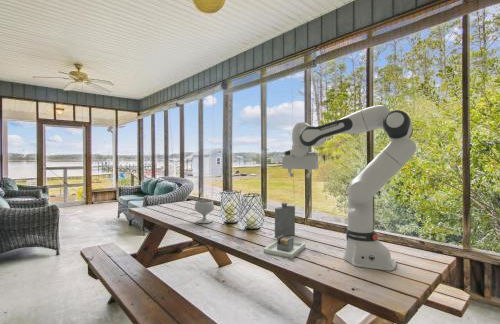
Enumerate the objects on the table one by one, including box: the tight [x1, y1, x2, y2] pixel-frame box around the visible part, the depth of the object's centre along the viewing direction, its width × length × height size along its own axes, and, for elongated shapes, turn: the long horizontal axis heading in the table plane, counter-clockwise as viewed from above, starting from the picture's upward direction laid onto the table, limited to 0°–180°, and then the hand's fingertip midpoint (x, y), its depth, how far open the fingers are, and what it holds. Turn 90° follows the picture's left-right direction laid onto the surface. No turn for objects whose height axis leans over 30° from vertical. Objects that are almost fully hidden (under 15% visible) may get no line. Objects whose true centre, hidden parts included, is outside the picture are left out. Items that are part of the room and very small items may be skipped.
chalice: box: [194, 199, 215, 224], centre depth 202 cm, size 14×14×15 cm
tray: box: [263, 240, 306, 260], centre depth 143 cm, size 15×19×2 cm
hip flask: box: [274, 202, 296, 239], centre depth 169 cm, size 16×4×20 cm, turn 128°
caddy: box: [276, 235, 295, 252], centre depth 143 cm, size 6×6×6 cm
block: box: [280, 237, 289, 246], centre depth 143 cm, size 4×4×4 cm
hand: (299, 177), depth 153 cm, fingers open, 8 cm apart
